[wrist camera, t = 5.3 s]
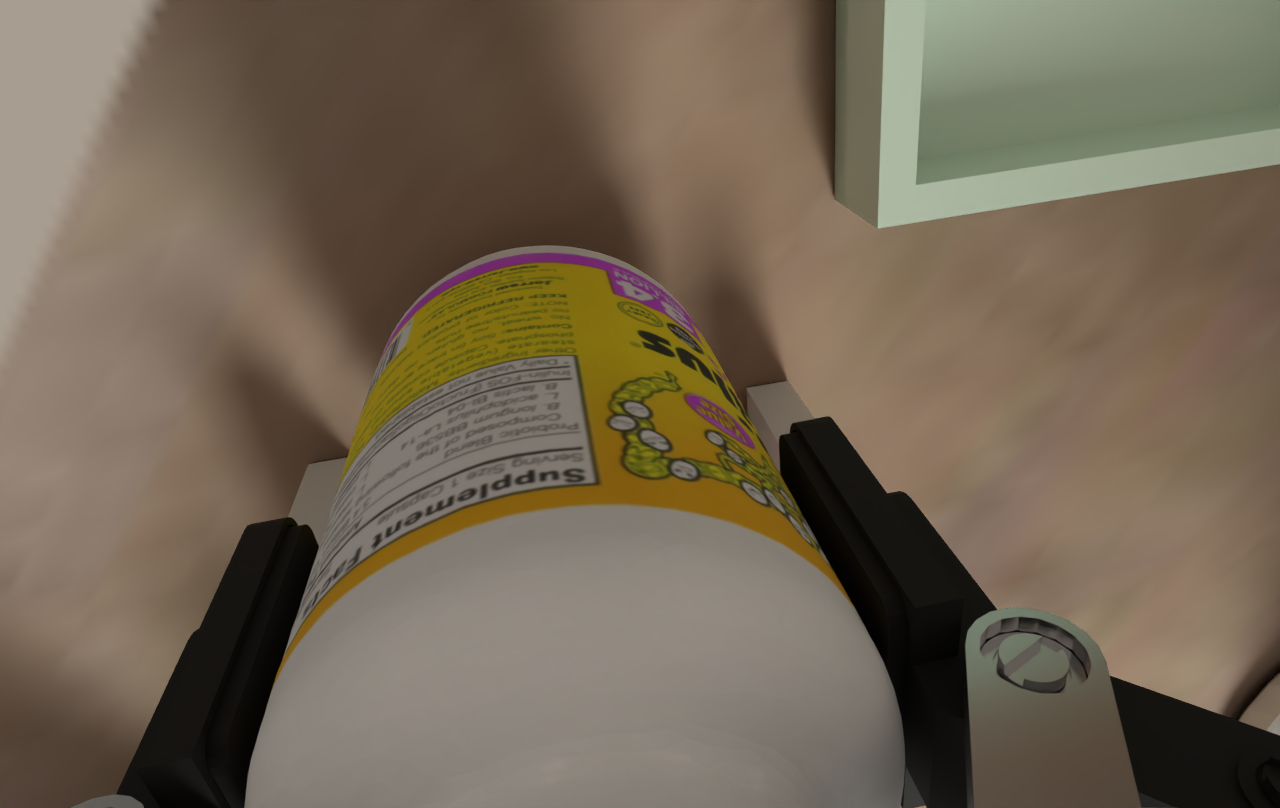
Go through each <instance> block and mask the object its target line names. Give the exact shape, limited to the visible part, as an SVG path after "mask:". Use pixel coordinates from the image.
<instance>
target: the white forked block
mask: <svg viewBox="0 0 1280 808" xmlns="http://www.w3.org/2000/svg"><path fill="white" fill-rule="evenodd" d="M746 391H747V410H748V416H749V418H750V420H751V422H752V423H753V425H754V427H755V429H756V430H757V432H758V434H759V436H760V438H761V440H762V442H763V444H764V446H765V447H766V449H767V451H768V453H769V455H770V457H771V458H772V460H773V462H774V464H775V466H776V468H777V469H778V471H779V473H780V457H779V438H780V435H783V434H789V433H790V427H791V424H792V423H795V422H800V421H806V420H811V419H814V417H813V416H812V414H811V413H810V411H809V410H808V409H807V407H806V406H805V404H804V403H803V401H802V400H801V398H800V397H799V396H798V394H797V393H796V391H795V390H794V388H793V387H792V386H791V384H790V383H789V381H784V382H778V383H772V384H767V385H761V386H755V387H749V388H746ZM346 460H347V458H341V459H335V460H330V461H324V462H318V463H312V464H308V466H307V469H306V472H305V474H304V477H303V479H302V482H301V484H300V487H299V490H298V492H297V495H296V497H295V500H294V502H293V505H292V508H291V510H290V513H289V515H288V517H291V518H293V519H294V520H295V521H296V522H297V524H298V526H299V525H304V524H306V525H309V526H310V528H311V529H312V531H313V533H314V536H315V538H316V540H317V543H318V545H319V546H320V543H321V540H322V537H323V533H324V530H325V527H326V524H327V521H328V518H329V515H330V511H331V508H332V505H333V502H334V499H335V496H336V492H337V489H338V486H339V483H340V480H341V477H342V474H343V470H344V467H345V464H346Z"/></svg>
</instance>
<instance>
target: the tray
mask: <svg viewBox="0 0 1280 808" xmlns="http://www.w3.org/2000/svg"><path fill="white" fill-rule="evenodd" d="M1278 164H1280V0H836V66H835V200H837V201H838V202H840V203H841V204H843V205H844V206H846V207H847V208H848V209H850V210H851V211H853V212H854V213H856V214H857V215H859V216H860V217H862V218H863V219H864V220H866V221H867V222H869V223H870V224H872V225H873V226H875V227H876V228H884V227H890V226H897V225H903V224H909V223H915V222H922V221H928V220H934V219H940V218H947V217H953V216H959V215H965V214H972V213H978V212H984V211H990V210H997V209H1003V208H1009V207H1015V206H1022V205H1028V204H1034V203H1040V202H1047V201H1053V200H1059V199H1065V198H1072V197H1078V196H1084V195H1090V194H1097V193H1103V192H1109V191H1115V190H1122V189H1128V188H1134V187H1140V186H1147V185H1153V184H1159V183H1165V182H1172V181H1178V180H1184V179H1190V178H1196V177H1203V176H1209V175H1215V174H1221V173H1228V172H1234V171H1240V170H1246V169H1253V168H1259V167H1265V166H1271V165H1278Z"/></svg>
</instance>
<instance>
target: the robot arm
mask: <svg viewBox="0 0 1280 808" xmlns="http://www.w3.org/2000/svg"><path fill="white" fill-rule="evenodd" d="M779 457H780V475H781V476H782V478H783V480H784V482H785V484H786V486H787V488H788V489H789V491H790V493H791V494H792V496H793V498H794V500H795V502H796V504H797V505H798V507H799V509H800V511H801V513H802V515H803V517H804V518H805V520H806V522H807V524H808V525H809V527H810V529H811V531H812V533H813V534H814V536H815V538H816V540H817V541H818V543H819V545H820V547H821V549H822V551H823V553H824V555H825V556H826V558H827V560H828V562H829V563H830V565H831V567H832V569H833V570H834V572H835V574H836V576H837V577H838V579H839V581H840V583H841V585H842V586H843V588H844V590H845V591H846V593H847V595H848V597H849V598H850V600H851V602H852V604H853V605H854V607H855V609H856V611H857V613H858V614H859V616H860V618H861V620H862V622H863V624H864V625H865V627H866V629H867V631H868V633H869V636H870V637H871V639H872V641H873V642H874V644H875V646H876V648H877V650H878V652H879V654H880V656H881V658H882V660H883V662H884V664H885V667H886V670H887V672H888V675H889V677H890V680H891V682H892V685H893V688H894V690H895V694H896V698H897V702H898V706H899V710H900V714H901V718H902V726H903V735H904V744H905V774H904V786H903V793H902V799H901V807H902V808H916V807H920V806H924V805H926V807H927V808H1280V673H1278V674H1277V675H1276V676H1275V677H1274V678H1273V679H1272V680H1271V681H1270V682H1269V683H1268V684H1267V685H1266V686H1265V687H1264V688H1263V689H1262V691H1261V692H1260V693H1259V694H1258V695H1257V696H1256V697H1255V699H1254V700H1253V701H1252V702H1251V703H1250V704H1249V705H1248V707H1247V708H1246V709H1245V711H1244V712H1243V714H1242V715H1241V717H1240V718H1239V720H1238V721H1237V720H1234V719H1232V718H1229V717H1226V716H1223V715H1220V714H1217V713H1215V712H1212V711H1209V710H1206V709H1203V708H1200V707H1197V706H1195V705H1192V704H1189V703H1186V702H1183V701H1180V700H1178V699H1175V698H1172V697H1169V696H1166V695H1163V694H1160V693H1158V692H1155V691H1152V690H1149V689H1146V688H1143V687H1140V686H1138V685H1135V684H1132V683H1129V682H1126V681H1123V680H1121V679H1118V678H1115V677H1112V676H1110V675H1109V671H1108V667H1107V663H1106V660H1105V658H1104V656H1103V654H1102V652H1101V650H1100V647H1099V646H1098V645H1097V644H1096V643H1095V642H1094V641H1093V639H1092V638H1091V637H1090V636H1089V635H1088V634H1087V633H1086V632H1085V631H1083V630H1082V629H1080V628H1079V627H1077V626H1076V625H1074V624H1073V623H1071V622H1070V621H1068V620H1066V619H1063V618H1061V617H1059V616H1056V615H1054V614H1051V613H1049V612H1045V611H1040V610H1035V609H1030V608H1004V609H1000V610H997V609H996V608H995V606H994V605H993V604H992V602H991V601H990V600H989V599H988V597H987V596H986V595H985V593H984V592H983V591H982V589H981V588H980V587H979V586H978V584H977V583H976V582H975V580H974V579H973V578H972V577H971V575H970V574H969V573H968V571H967V570H966V569H965V567H964V566H963V565H962V564H961V562H960V561H959V560H958V558H957V557H956V556H955V555H954V553H953V552H952V551H951V549H950V548H949V547H948V545H947V544H946V543H945V542H944V540H943V539H942V538H941V536H940V535H939V534H938V533H937V531H936V530H935V529H934V527H933V526H932V525H931V523H930V522H929V521H928V520H927V518H926V517H925V516H924V514H923V513H922V512H921V511H920V509H919V508H918V507H917V505H916V504H915V503H914V501H913V500H912V499H911V498H910V497H909V496H908V495H907V494H906V493H904V492H901V491H898V492H893V493H888V494H887V493H886V491H885V490H884V489H883V487H882V486H881V484H880V483H879V482H878V480H877V479H876V478H875V476H874V475H873V474H872V472H871V471H870V469H869V468H868V467H867V465H866V464H865V463H864V461H863V460H862V459H861V457H860V456H859V454H858V453H857V452H856V450H855V449H854V448H853V446H852V445H851V444H850V442H849V441H848V440H847V438H846V437H845V435H844V434H843V433H842V431H841V430H840V429H839V427H838V426H837V425H836V423H835V422H834V420H833V419H832V418H831V417H822V418H816V419H811V420H806V421H800V422H795V423H792V424H791V427H790V433H789V434H783V435H780V438H779ZM318 549H319V545H318V543H317V540H316V538H315V536H314V533H313V531H312V529H311V528H310V526H309V525H306V524H304V525H299V526H298V524H297V522H296V521H295V520H294V519H293V518H291V517H287V518H282V519H276V520H271V521H266V522H260V523H255V524H251V525H248V526H247V527H246V529H245V530H244V532H243V534H242V537H241V539H240V541H239V543H238V545H237V547H236V550H235V552H234V554H233V556H232V558H231V561H230V563H229V565H228V567H227V569H226V571H225V574H224V576H223V578H222V580H221V582H220V585H219V587H218V589H217V591H216V593H215V595H214V598H213V600H212V602H211V604H210V606H209V609H208V611H207V613H206V615H205V617H204V619H203V622H202V624H201V626H200V628H199V629H198V630H196V631H195V632H193V634H192V635H191V637H190V638H189V640H188V642H187V644H186V646H185V648H184V650H183V652H182V654H181V657H180V659H179V661H178V663H177V665H176V667H175V669H174V672H173V674H172V676H171V678H170V680H169V682H168V684H167V687H166V689H165V691H164V693H163V695H162V697H161V699H160V702H159V704H158V706H157V708H156V710H155V712H154V714H153V717H152V719H151V721H150V723H149V725H148V727H147V729H146V732H145V734H144V736H143V738H142V740H141V742H140V744H139V747H138V749H137V751H136V753H135V755H134V757H133V759H132V762H131V764H130V766H129V768H128V770H127V772H126V774H125V777H124V779H123V781H122V783H121V785H120V787H119V789H118V792H117V794H113V795H107V796H102V797H97V798H92V799H90V800H87V801H85V802H83V803H80V804H78V805H75V806H73V807H70V808H244V807H245V797H246V787H247V778H248V772H249V767H250V762H251V758H252V754H253V751H254V747H255V744H256V740H257V737H258V733H259V730H260V727H261V724H262V721H263V718H264V715H265V711H266V707H267V704H268V700H269V697H270V694H271V691H272V688H273V684H274V681H275V678H276V675H277V672H278V670H279V667H280V665H281V662H282V660H283V656H284V653H285V650H286V647H287V644H288V641H289V637H290V634H291V630H292V627H293V625H294V622H295V620H296V617H297V614H298V611H299V608H300V604H301V601H302V598H303V595H304V592H305V589H306V586H307V583H308V579H309V576H310V573H311V570H312V567H313V564H314V561H315V558H316V555H317V552H318Z"/></svg>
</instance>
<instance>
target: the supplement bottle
mask: <svg viewBox="0 0 1280 808" xmlns="http://www.w3.org/2000/svg"><path fill="white" fill-rule="evenodd" d="M904 774H905V744H904V735H903V726H902V718H901V714H900V710H899V706H898V702H897V698H896V694H895V690H894V688H893V685H892V682H891V680H890V677H889V675H888V672H887V670H886V667H885V664H884V662H883V660H882V658H881V656H880V654H879V652H878V650H877V648H876V646H875V644H874V642H873V641H872V639H871V637H870V636H869V633H868V631H867V629H866V627H865V625H864V624H863V622H862V620H861V618H860V616H859V614H858V613H857V611H856V609H855V607H854V605H853V604H852V602H851V600H850V598H849V597H848V595H847V593H846V591H845V590H844V588H843V586H842V585H841V583H840V581H839V579H838V577H837V576H836V574H835V572H834V570H833V569H832V567H831V565H830V563H829V562H828V560H827V558H826V556H825V555H824V553H823V551H822V549H821V547H820V545H819V543H818V541H817V540H816V538H815V536H814V534H813V533H812V531H811V529H810V527H809V525H808V524H807V522H806V520H805V518H804V517H803V515H802V513H801V511H800V509H799V507H798V505H797V504H796V502H795V500H794V498H793V496H792V494H791V493H790V491H789V489H788V488H787V486H786V484H785V482H784V480H783V478H782V476H781V475H780V473H779V471H778V469H777V468H776V466H775V464H774V462H773V460H772V458H771V457H770V455H769V453H768V451H767V449H766V447H765V446H764V444H763V442H762V440H761V438H760V436H759V434H758V432H757V430H756V429H755V427H754V425H753V423H752V422H751V420H750V418H749V416H748V414H747V413H746V411H745V409H744V407H743V405H742V403H741V401H740V400H739V399H738V397H737V394H736V392H735V390H734V389H733V387H732V386H731V384H730V382H729V380H728V378H727V377H726V375H725V373H724V371H723V369H722V368H721V366H720V364H719V362H718V361H717V359H716V357H715V355H714V354H713V352H712V350H711V348H710V347H709V345H708V343H707V342H706V340H705V338H704V336H703V335H702V333H701V331H700V330H699V328H698V327H697V326H696V324H695V322H694V321H693V319H692V318H691V317H690V315H689V314H688V312H687V311H686V310H685V309H684V308H683V306H682V305H681V304H680V303H679V302H678V301H677V300H676V299H675V297H674V296H673V295H672V294H671V293H670V292H669V291H668V290H666V289H665V288H664V287H663V286H662V285H661V284H659V283H658V282H657V281H656V280H654V279H653V278H651V277H650V276H648V275H647V274H645V273H644V272H642V271H640V270H639V269H637V268H635V267H633V266H631V265H630V264H628V263H626V262H623V261H621V260H619V259H616V258H614V257H611V256H608V255H605V254H602V253H599V252H595V251H590V250H586V249H581V248H575V247H569V246H551V245H542V246H528V247H520V248H513V249H508V250H503V251H499V252H496V253H492V254H489V255H486V256H484V257H481V258H479V259H477V260H474V261H472V262H470V263H468V264H466V265H464V266H463V267H461V268H459V269H457V270H455V271H454V272H452V273H450V274H448V275H447V276H445V277H444V278H442V279H441V280H439V281H438V282H437V283H435V284H434V285H433V286H431V287H430V288H429V289H428V290H427V291H426V292H425V293H423V294H422V295H421V296H420V297H419V298H418V299H417V300H416V301H415V302H414V304H413V305H412V306H411V307H410V308H409V309H408V310H407V312H406V313H405V314H404V316H403V317H402V319H401V320H400V321H399V323H398V324H397V326H396V328H395V329H394V331H393V333H392V334H391V336H390V338H389V340H388V342H387V345H386V347H385V349H384V351H383V354H382V356H381V358H380V361H379V363H378V365H377V368H376V371H375V373H374V376H373V379H372V383H371V386H370V389H369V392H368V395H367V398H366V402H365V405H364V407H363V410H362V413H361V416H360V420H359V423H358V426H357V429H356V432H355V435H354V438H353V441H352V444H351V447H350V450H349V454H348V457H347V460H346V464H345V467H344V470H343V474H342V477H341V480H340V483H339V486H338V489H337V492H336V496H335V499H334V502H333V505H332V508H331V511H330V515H329V518H328V521H327V524H326V527H325V530H324V533H323V537H322V540H321V543H320V546H319V549H318V552H317V555H316V558H315V561H314V564H313V567H312V570H311V573H310V576H309V579H308V583H307V586H306V589H305V592H304V595H303V598H302V601H301V604H300V608H299V611H298V614H297V617H296V620H295V622H294V625H293V627H292V630H291V634H290V637H289V641H288V644H287V647H286V650H285V653H284V656H283V660H282V662H281V665H280V667H279V670H278V672H277V675H276V678H275V681H274V684H273V688H272V691H271V694H270V697H269V700H268V704H267V707H266V711H265V715H264V718H263V721H262V724H261V727H260V730H259V733H258V737H257V740H256V744H255V747H254V751H253V754H252V758H251V762H250V767H249V772H248V778H247V787H246V797H245V807H244V808H900V805H901V799H902V793H903V786H904Z"/></svg>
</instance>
